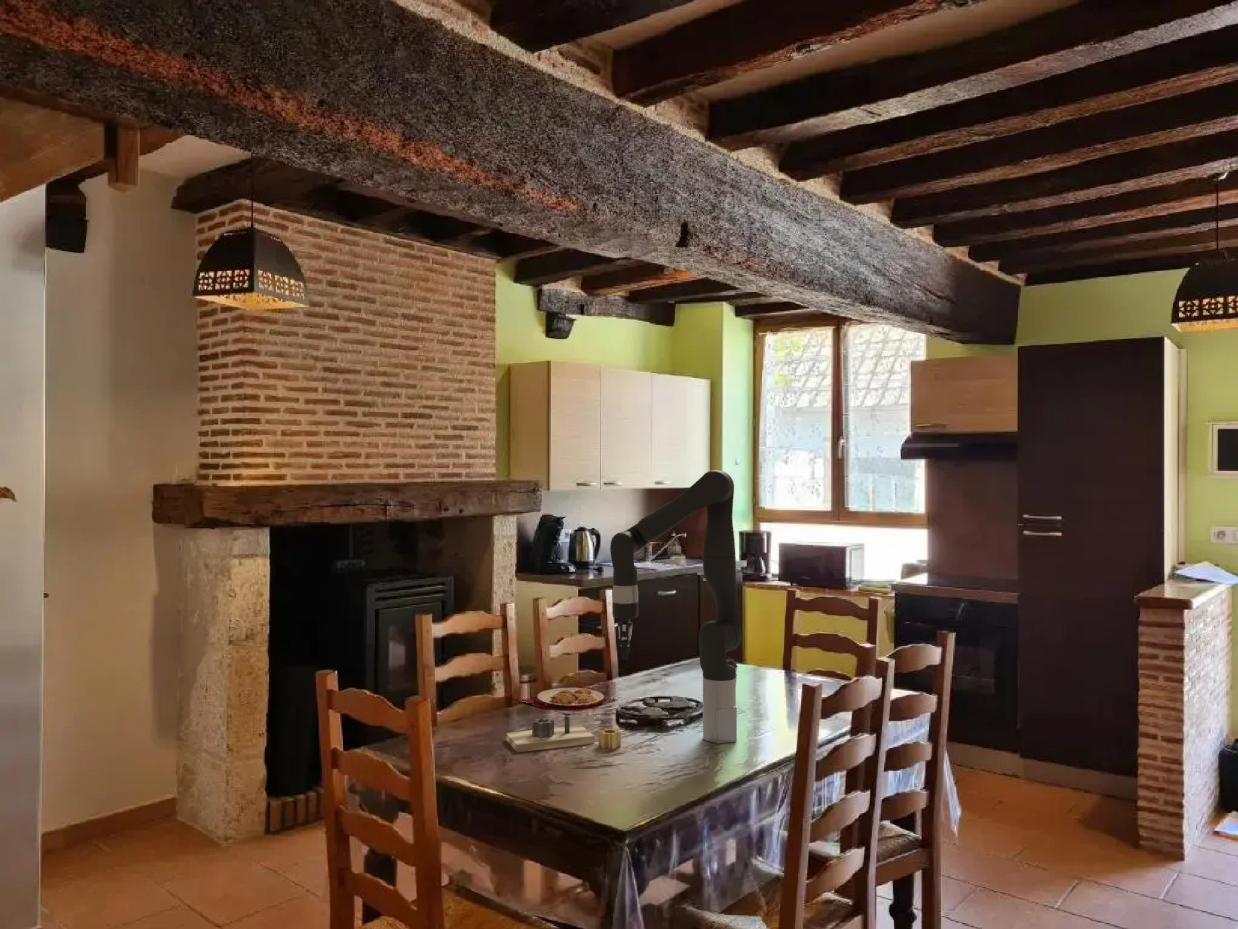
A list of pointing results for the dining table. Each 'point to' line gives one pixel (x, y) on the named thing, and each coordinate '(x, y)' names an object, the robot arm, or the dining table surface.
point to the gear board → (549, 736)
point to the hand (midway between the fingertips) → (625, 656)
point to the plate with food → (568, 698)
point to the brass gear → (610, 738)
